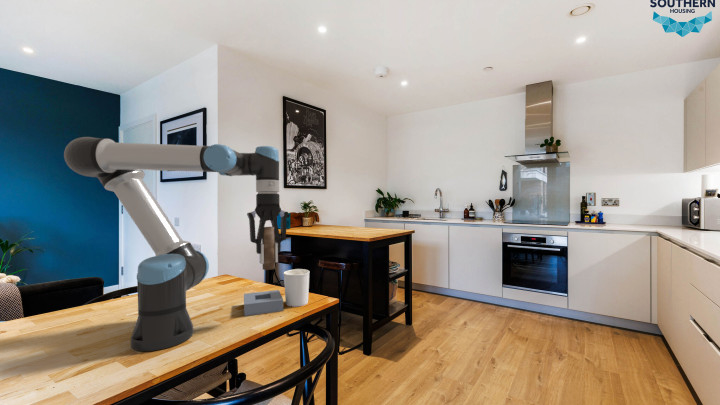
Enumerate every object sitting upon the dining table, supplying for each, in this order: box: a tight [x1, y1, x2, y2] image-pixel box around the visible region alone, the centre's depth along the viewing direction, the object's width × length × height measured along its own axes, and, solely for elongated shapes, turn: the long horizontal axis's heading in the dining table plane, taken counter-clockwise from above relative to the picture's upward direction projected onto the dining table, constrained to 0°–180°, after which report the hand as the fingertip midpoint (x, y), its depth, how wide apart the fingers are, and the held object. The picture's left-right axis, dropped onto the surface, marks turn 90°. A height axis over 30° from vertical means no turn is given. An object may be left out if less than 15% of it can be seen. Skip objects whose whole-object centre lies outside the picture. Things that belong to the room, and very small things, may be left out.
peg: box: [261, 226, 276, 271], centre depth 105 cm, size 4×4×14 cm
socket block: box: [243, 289, 284, 317], centre depth 115 cm, size 13×13×4 cm
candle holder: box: [283, 268, 310, 308], centre depth 119 cm, size 10×10×12 cm
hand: (268, 262), depth 105 cm, fingers closed on peg, 4 cm apart
